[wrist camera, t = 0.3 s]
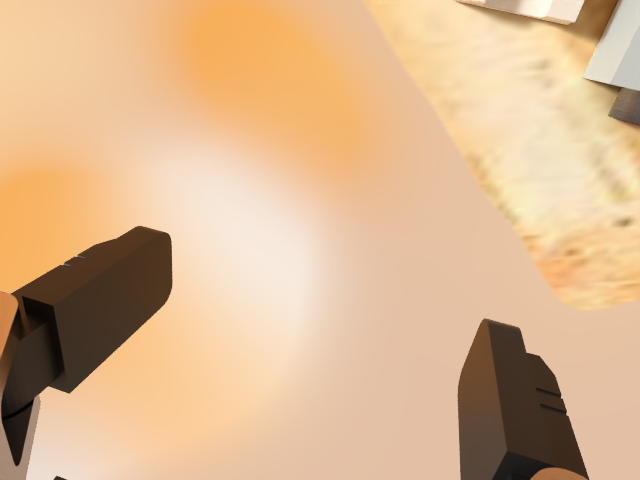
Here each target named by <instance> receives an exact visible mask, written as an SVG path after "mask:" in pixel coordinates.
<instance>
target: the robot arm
mask: <svg viewBox="0 0 640 480" xmlns="http://www.w3.org/2000/svg"><path fill="white" fill-rule="evenodd" d="M171 289H172V245H171V238H170V236H169V234H168V233H165V232H162V231H158V230H154V229H151V228H147V227H143V226H137V227H135V228H133V229H132V230H130V231H128V232H127V233H125V234H123V235H122V236H120V237H118V238H117V239H113V240H110V241H106V242H103V243H100V244H96V245H94V246H92V247H90V248H89V249H87V250H85V251H83V252H82V253H80V254H78V257H74V258H71V259H70V260H68V261H66V262H65V263H64V265H59V266H58V267H56V268H54V269H53V270H51V271H49V272H47V273H46V274H44V275H42V276H40V277H39V278H37V279H35V280H34V281H32V282H30V283H29V284H27V285H25V286H23V287H22V288H20V289H18V290H16V291H15V292H13V293H11V294H9V293H5V292H0V480H26V474H27V469H28V464H29V459H30V454H31V449H32V444H33V439H34V434H35V429H36V424H37V419H38V414H39V409H40V398H39V394H40V393H41V392H42V391H43V390H44V389H45V388H46V387H48V386H49V387H52V388H55V389H58V390H61V391H63V392H66V393H70V392H72V391H73V390H74V389H75V388H76V387H77V386H78V385H79V384H80V383H81V382H82V381H83V380H84V379H86V378H87V377H88V376H89V374H91V373H92V372H93V371H94V370H95V369H96V368H97V367H98V366H99V365H101V363H102V362H104V361H105V360H106V359H107V358H108V357H109V356H110V355H111V354H112V353H113V352H114V351H115V350H116V349H118V347H120V346H121V345H122V344H123V343H124V342H125V341H126V340H127V339H128V338H129V337H130V336H131V335H132V334H134V332H136V331H137V330H138V329H139V328H140V327H141V326H142V325H143V324H144V323H145V322H146V321H147V320H148V319H150V318H151V317H152V316H153V315H154V314H155V313H156V312H157V311H158V310H159V309H160V308H161V307H162V306H163V305H164V304H165V302H166V301H167V300H168V297H169V295H170V293H171ZM566 413H567V410H566V408H565V404H564V401H563V399H561V392H560V389H559V387H558V383H557V380H556V377H555V375H554V374H553V372H552V371H551V370H550V369H549V367H548V366H547V365H546V364H545V362H544V361H543V360H542V359H541V357H540V356H537V355H534V354H530V353H526V349H525V345H524V342H523V338H522V334H521V331H520V329H519V328H518V327H515V326H512V325H507V324H504V323H500V322H496V321H493V320H489V319H483V320H482V322H481V324H480V326H479V328H478V331H477V333H476V336H475V338H474V341H473V343H472V346H471V348H470V351H469V353H468V356H467V358H466V361H465V363H464V366H463V368H462V372H461V375H460V380H459V385H458V414H459V415H458V417H459V443H460V472H461V480H589V477H588V475H587V472H586V468H585V465H584V462H583V459H582V456H581V453H580V450H579V447H578V444H577V441H576V438H575V435H574V432H573V429H572V426H571V423H570V420H569V417H568V416H567V415H566ZM54 480H66V479H64V478H61V477H58V476H56V477H55V479H54Z"/></svg>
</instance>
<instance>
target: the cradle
mask: <svg viewBox="0 0 640 480" xmlns="http://www.w3.org/2000/svg"><path fill="white" fill-rule="evenodd" d="M454 1H458V2H463V3H467V4H472V5H477V6H481V7H486V8H490V9H495V10H500V11H504V12H509V13H514V14H518V15H523V16H527V17H532V18H537V19H541V20H546V21H551V22H555V23H560V24H564V25H569V24H570V23H573V22H575V21H576V19H577V17H578V14H579V12H580V10H581V7H582V5H583V3H584V0H454Z"/></svg>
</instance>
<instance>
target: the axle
mask: <svg viewBox="0 0 640 480" xmlns="http://www.w3.org/2000/svg"><path fill="white" fill-rule="evenodd" d="M608 116H610V117H613V118H616V119H619V120H622V121H626V122H630V123H633V124H637V125H640V91H638V90H634V89H629V88H625V87H622V89H621V91H620V93H619V94H618V96H617V98H616V100H615V102H614V104H613V106H612V108H611V110H610V112H609V114H608Z"/></svg>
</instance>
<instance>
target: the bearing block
mask: <svg viewBox="0 0 640 480" xmlns="http://www.w3.org/2000/svg"><path fill="white" fill-rule="evenodd" d="M582 78H585V79H590V80H594V81H598V82H603V83H607V84H611V85H616V86H620V87H625V88H629V89H634V90H638V91H640V0H618V2H617V4H616V6H615V9H614V11H613V13H612V15H611V17H610V19H609V22H608V24H607V26H606V28H605V30H604V32H603V34H602V37H601V39H600V41H599V43H598V45H597V47H596V49H595V52H594V54H593V56H592V58H591V60H590V62H589V64H588V67H587V69H586V71H585V73H584V75H583V77H582Z"/></svg>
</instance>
